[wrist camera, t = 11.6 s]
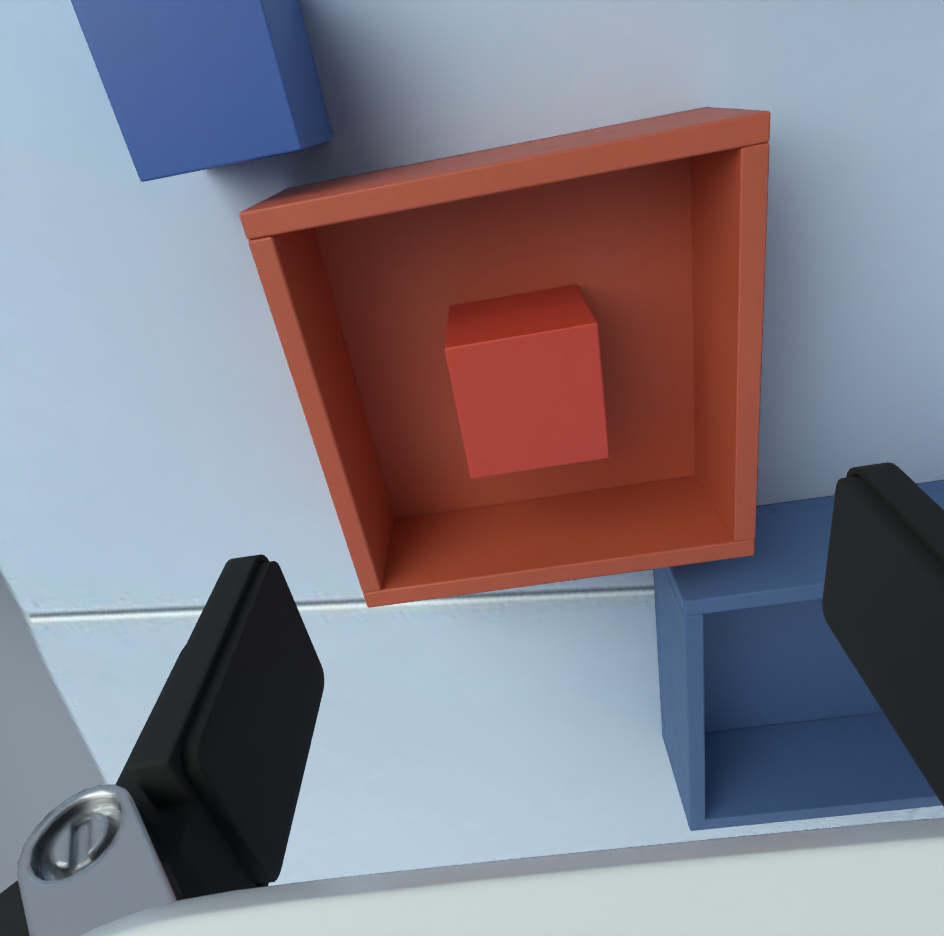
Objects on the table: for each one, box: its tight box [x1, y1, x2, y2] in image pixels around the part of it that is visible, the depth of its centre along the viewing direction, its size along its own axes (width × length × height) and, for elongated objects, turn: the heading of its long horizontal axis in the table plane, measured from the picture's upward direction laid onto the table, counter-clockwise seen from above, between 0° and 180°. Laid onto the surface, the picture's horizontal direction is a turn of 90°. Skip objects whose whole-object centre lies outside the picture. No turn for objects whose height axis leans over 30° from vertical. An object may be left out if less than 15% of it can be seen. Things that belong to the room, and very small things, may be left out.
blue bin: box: [653, 480, 944, 831], centre depth 28 cm, size 13×13×5 cm
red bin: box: [239, 107, 770, 608], centre depth 22 cm, size 13×13×5 cm
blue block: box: [71, 0, 333, 182], centre depth 18 cm, size 4×4×4 cm
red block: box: [444, 284, 610, 479], centre depth 22 cm, size 4×4×4 cm
